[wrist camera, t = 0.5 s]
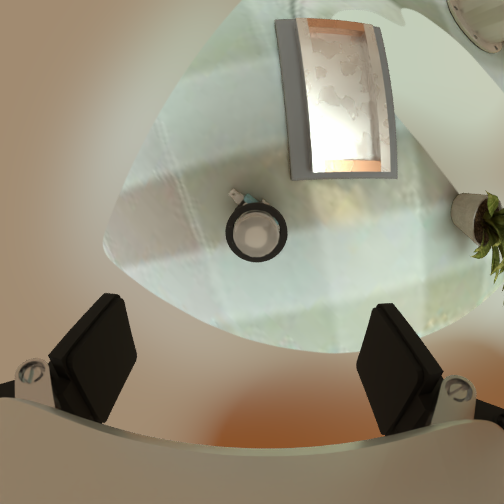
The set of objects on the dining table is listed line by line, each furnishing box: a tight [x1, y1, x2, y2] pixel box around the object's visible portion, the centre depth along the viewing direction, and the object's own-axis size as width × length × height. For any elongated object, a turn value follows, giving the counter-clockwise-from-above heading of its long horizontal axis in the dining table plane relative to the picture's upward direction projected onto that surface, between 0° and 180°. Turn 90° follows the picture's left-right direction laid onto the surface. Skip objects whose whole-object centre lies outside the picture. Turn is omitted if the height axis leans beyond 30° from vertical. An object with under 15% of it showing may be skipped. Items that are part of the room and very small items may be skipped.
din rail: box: [294, 18, 391, 172], centre depth 24 cm, size 9×18×2 cm, turn 5°
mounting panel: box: [275, 19, 397, 180], centre depth 26 cm, size 13×20×1 cm, turn 5°
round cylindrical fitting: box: [226, 189, 287, 262], centre depth 27 cm, size 7×5×10 cm
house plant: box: [451, 191, 504, 291], centre depth 22 cm, size 14×14×16 cm
